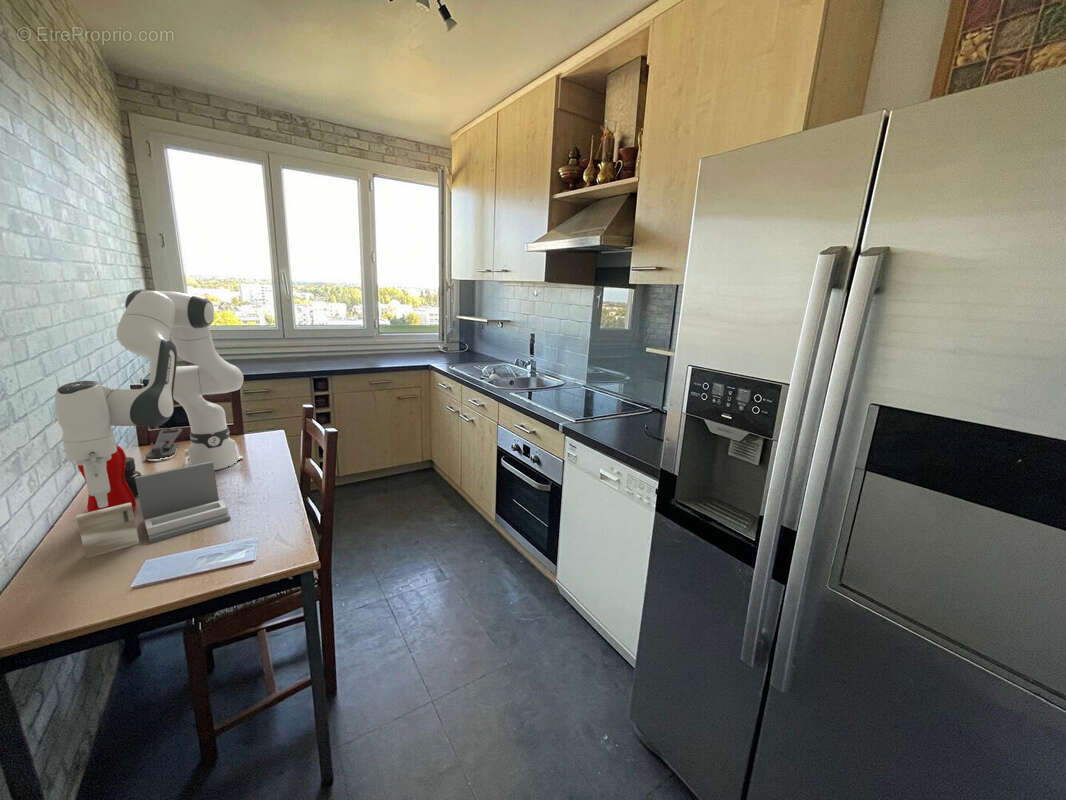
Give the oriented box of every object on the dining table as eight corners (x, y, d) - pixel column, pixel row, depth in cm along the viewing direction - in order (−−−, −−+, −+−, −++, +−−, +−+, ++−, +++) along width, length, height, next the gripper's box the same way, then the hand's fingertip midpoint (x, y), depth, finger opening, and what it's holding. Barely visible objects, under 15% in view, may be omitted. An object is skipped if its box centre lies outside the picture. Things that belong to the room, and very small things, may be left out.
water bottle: (82, 528, 121) (62, 444, 115) (101, 511, 131) (84, 432, 125) (124, 522, 124) (107, 440, 119) (140, 506, 134) (125, 429, 128)
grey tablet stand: (143, 521, 125) (134, 476, 122) (218, 502, 138) (211, 461, 135) (150, 542, 115) (140, 494, 112) (230, 519, 128) (223, 475, 124)
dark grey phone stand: (184, 427, 192) (170, 443, 170) (186, 441, 193) (173, 459, 172) (158, 429, 188) (140, 446, 166) (161, 443, 189) (143, 463, 168)
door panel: (85, 554, 109) (76, 515, 107) (138, 539, 116) (130, 502, 114) (86, 559, 108) (76, 519, 105) (139, 543, 115) (131, 505, 112)
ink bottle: (107, 494, 141) (100, 460, 139) (143, 486, 147) (137, 453, 145) (108, 504, 135) (100, 468, 132) (145, 496, 141) (139, 461, 138)
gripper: (111, 455, 101) (123, 509, 104) (106, 436, 115) (116, 484, 118) (72, 462, 96) (85, 518, 99) (72, 441, 110) (83, 491, 113)
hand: (102, 500), depth 109 cm, fingers open, 8 cm apart
